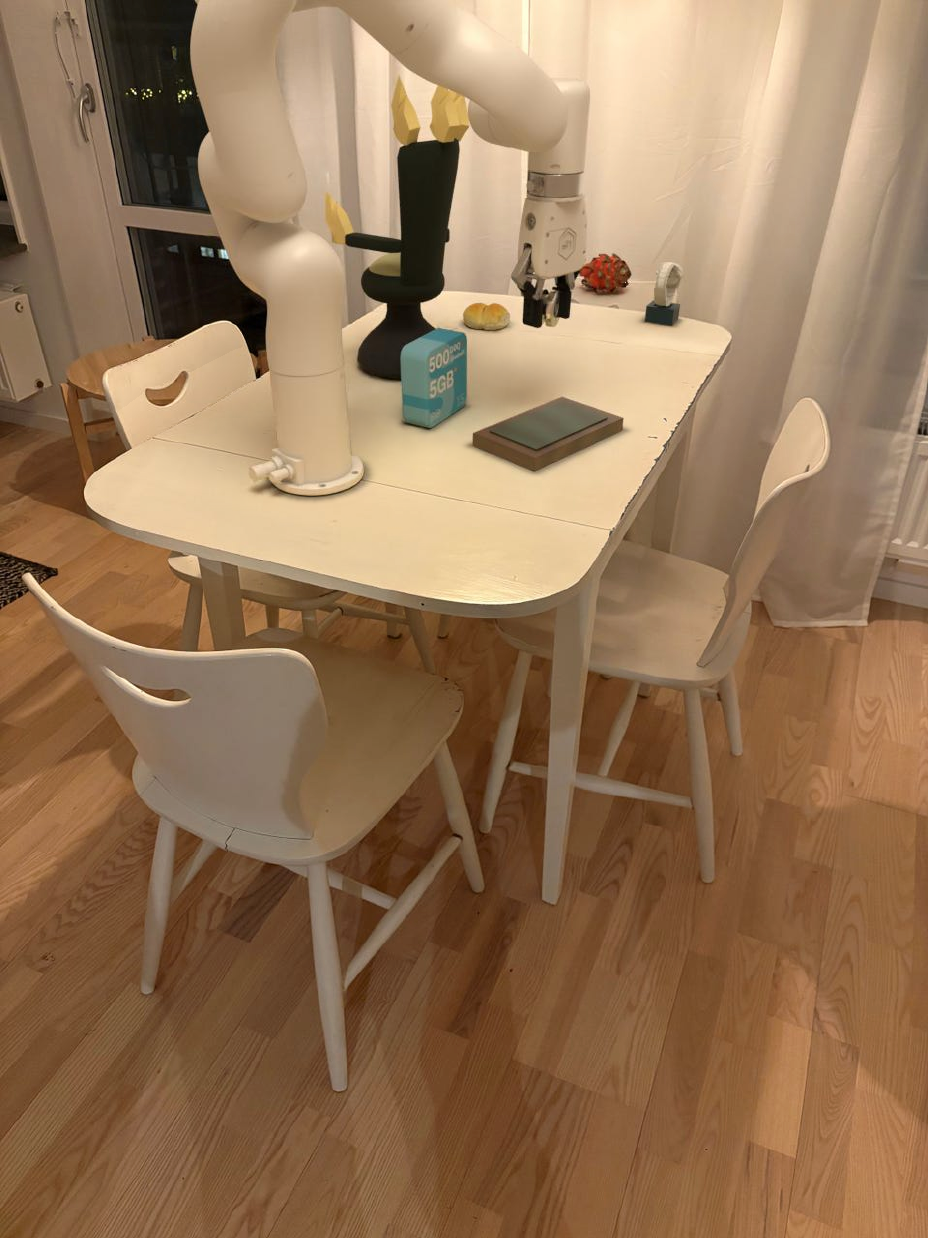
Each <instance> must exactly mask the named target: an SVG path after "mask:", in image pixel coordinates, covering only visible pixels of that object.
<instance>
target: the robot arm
mask: <svg viewBox="0 0 928 1238" xmlns="http://www.w3.org/2000/svg"><path fill="white" fill-rule="evenodd" d="M194 1H195V3H196V4H197V6H196V9H195V14H194V18H193V22H192V27H191V35H190V45H189V46H190V48H189V50H190V51H189V55H190V66H191V72H192V77H193V81H194V85H195V88H196V89H195V90H196V92H197V96H198V99H199V102H200V105H201V108H202V112H203V115H204V118H205V122H206V125H207V129H208V133H206V135H205V136H204V138H203V140H202V142H201V144H200V146H199V149H198V150H199V151H198V158H197V169H198V171H197V172H198V176H199V177H198V178H199V181H200V186H201V189H202V192H203V195H204V197H205V201H206V203H207V205H208V208H209V211H210V213H211V216H212V219H213V221H214V224H215V227H216V229H217V233H218V234H219V237H220V240H221V242H222V245H223V248H224V250H225V253H226V255H227V257H228V260H229V262H230V264H231V267H232V269H233V271H234V272H235V274H236V276H237V277H238V279H239V281H241V282H242V283H243V285H245V286H246V288H248V289H250V290H251V291H252V292H253V293H255V294H257V295H259V296H260V297H262V299H264V300H265V302H266V310H267V312H266V313H267V314H266V324H265V325H266V326H265V351H266V359H267V366H268V372H269V380H270V387H271V396H272V405H273V413H274V421H275V430H276V438H277V445H278V446H277V447H275V448H272V449H271V457H270V458H267V461H266V462H263V463H259V464H256V465H253V466H250V467H249V468H248V469H247V470H248V476H249V478H250V479H251V481H252V482H255V483H256V482H259V481H261V480H264V479H267V478H268V480H269V481H270V483H272V484H273V486H275V487H276V488H277V489H279V490H281V491H283V492H286V493H289V494H293V495H299V496H325V495H331V494H336V493H340V492H342V491H346V490H348V489H350V488H351V487H353V486H355V485H357V484H358V483H359V482H360V481H361V480H362V479H363V476H364V474H365V471H364V470H365V469H364V464H363V461H362V460H361V459H360V457H358V456H356V455H355V454H353V453H352V448H351V434H350V420H349V408H348V395H347V394H348V393H347V381H346V379H347V378H346V367H345V359H344V356H345V355H344V343H343V342H344V341H343V313H344V312H343V310H344V302H345V289H346V281H345V280H346V279H345V270H344V268H343V264H342V261H341V259H340V257H339V256H338V254H337V252H336V250H335V248H333V246H331V244H330V243H329V242H327V241H326V240H325V239H324V238H323V237H322V236H320V235H318V234H317V233H315V232H313V231H311V230H309V229H306V228H304V227H303V226H300V225H298V224H294V221H293V218H295V217H296V215H298V213H300V212H301V210H302V208H303V207H304V204H305V203H306V202H305V201H306V200H307V199H306V198H307V191H308V184H307V183H308V182H307V176H306V171H305V167H304V164H303V161H302V158H301V155H300V152H299V151H300V150H299V148H298V145H297V142H296V139H295V136H294V132H293V129H292V126H291V123H290V120H289V117H288V113H287V110H286V107H285V104H284V101H283V96H282V92H281V88H280V83H279V79H278V74H277V68H276V53H277V47H278V43H279V40H280V39H279V38H280V35H281V33H282V30H283V27H284V26H285V23H286V21H287V20H288V18H289V17H290V15H291V14H294V13H299V12H303V11H308V10H313V9H317V8H338V9H340V10H341V11H342V12H344V13H345V14H346V15H347V16H348V17H349V18H350V19H351V20H353V22H355V23H356V24H357V25H358V26H359V27H360V28H362V30H364V31H365V32H366V33H367V34H368V35H370V36H371V37H372V38H373V39H374V40H375V41H376V42H378V44H380V46H382V47H383V48H384V49H385V50H386V51H387V52H388V53H390V54H391V56H392V57H393V58H394V59H396V60H397V61H398V62H399V64H401V65H402V66H403V67H405V68H406V69H407V70H408V71H410V72H411V73H413V74H414V75H416V76H418V77H420V78H422V79H424V80H425V81H427V82H429V83H431V84H434V85H436V86H441V87H444V88H446V89H448V90H451V91H454V92H456V93H458V94H460V95H462V96H464V97H465V99H468V105H467V113H468V119H469V126H470V127H471V129H472V130H473V132H474V133H475V134H476V135H477V136H478V137H479V138H480V139H481V140H483V141H484V142H487V143H489V144H492V145H495V146H499V147H504V148H509V149H510V148H511V149H515V150H520V151H524V152H527V156H528V157H527V175H526V176H527V178H526V184H525V187H526V197H525V199H524V202H523V207H522V214H521V218H520V219H521V220H520V227H519V235H518V247H517V263H516V265H515V267H514V269H513V270H512V272H511V275H510V278H511V280H512V281H513V283H514V284H515V285H516V286H517V289H518V290H519V291H520V295H521V297H523V301H522V302H523V303H522V304H523V305H522V324H523V325H525V326H527V327H532V328H536V329H540V328H542V326H543V325H542V318H543V299H540V297H541V294H542V290H543V289H544V285H545V282H546V281H547V280H551V279H553V280H554V284H555V286H552V288H551V290H557V291H560V292H561V294H562V309H561V315H560V318H559V319H564V320H568V319H570V317H571V306H572V292H573V290H574V289H575V287H576V280H577V278H578V276H580V274H579V271H580V269H581V268H582V267H583V266H584V265H585V264H586V260H587V258H586V256H587V255H586V253H587V234H588V233H587V229H588V227H587V226H588V225H587V222H588V221H587V219H588V218H587V204H586V203H587V202H586V197H585V194H583V192H584V180H585V179H584V178H585V165H586V155H587V154H586V153H587V140H588V128H589V114H590V105H591V104H590V102H591V90H590V89H591V88H590V87H589V85H588V84H587V82H585V81H584V80H581V79H577V78H567V77H550V75H548V74H547V73H546V72H545V71H544V69H542V68H541V66H539V64H538V63H536V62H535V60H534V59H532V57H531V56H529V55H528V54H527V52H525V51H524V50H523V49H522V48H520V47H519V46H518V45H516V44H515V43H514V42H512V40H510V39H508V38H507V37H505V35H503V34H501V33H500V32H498V31H497V30H496V29H494V28H492V27H491V26H490V25H488V24H487V23H485V22H484V21H483V20H482V19H481V18H479V17H477V16H476V15H475V14H473V13H472V12H470V11H468V10H467V9H466V8H464V7H463V6H461V5H460V4H458V3H457V2H456V1H455V0H194ZM533 280H536V281H535V284H533Z"/></svg>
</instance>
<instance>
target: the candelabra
mask: <svg viewBox="0 0 928 1238" xmlns="http://www.w3.org/2000/svg"><path fill="white" fill-rule="evenodd" d="M430 107H431V122H430V125H429V129H430V131H431V133H432V135H433V137H434V138H435V139H432V140H431V139H430V140H423V141H418V139H419V134H420V130H421V124H420V121H419V118H418V115H417V112H416V109H415V107H414V106H413V104H412V102H411V100H410V98H409V97H408V94H407V92H406V89H405V85H404V83H403V80H402V78H401V76H400V74H398V77H397V81H396V84H395V88H394V91H393V97H392V101H391V107H390V108H391V112H392V118H393V133H394V135H395V138H396V140H397V141H398V142H399V143H400V144H401V146H400V147H399V149H398V152H397V157H396V161H397V182H398V183H397V184H398V200H399V201H398V203H399V221H400V239H399V238H395V237H388V236H383V235H376V234H369V233H363V232H355V231H354V229H353V226H352V223H351V220H350V218H349V216H348V213H347V212H346V211H345V210H344V208H343V207H342V206H341V205H340V204H339V203H338V201H335V200H334V199H333V197H332V195H331V194H330V193H329V192H328V190H325V195H324V196H325V197H324V198H325V200H324V203H325V204H324V205H325V208H324V211H325V212H324V216H325V217H324V218H325V219H324V222H325V223H326V225H327V227H328V229H329V231H330V235H331V243H332V244H335V245H340V246H341V245H346V246H347V247H348V248H349V247H350V248H355V249H361V250H366V251H374V252H380V253H386V254H384V255H381V256H379V257H378V258H376V259H375V260H374V261H373V262H372V263H371V264H370V265H369V266H367V267H366V269H365V270H364V271H363V272H362V275H361V277H360V286H361V289H362V292H363V293H365V295H366V296H367V297H368V298H370V299H371V300H374V301H376V302H378V303H382V304H386V312H385V316H384V318H383V319H382V320H381V321H380V323H378V324H377V326H375V327H374V328H373V329H372V330H371V331H370V332H369V333H368V335H366V336H365V337H364V339H363V341H362V342H361V343H360V346H359V348H358V349H357V357H356V362H357V363H358V364H359V366H361V367H362V369H364V371H365V372H367V373H369V374H372V375H374V376H376V377H377V376H378V377H382V378H386V379H397V380H401V352H402V349H403V348H404V346H405V345H407V344H409V343H411V342H412V341H414V340H416V339H418V338H420V337H422V336H424V335H426V334H428V333H430V332H432V331H434V330H435V329H437V328H436V327H434V326H433V325H432V324H431V323H430V322H429V321H428V320H427V319H426V318H425V317H424V315H423V312H422V308H421V307H422V304H424V303H427V302H430V301H432V300H434V299H436V298H437V297H438V296H440V295H441V293H442V292H443V291H444V288H445V285H446V283H445V281H446V279H445V276H444V273H443V271H444V260H445V250H446V244H447V243H449V242H450V237H451V235H450V233H451V232H450V229H449V223H450V216H451V212H452V211H451V210H452V205H453V198H454V193H455V188H456V181H457V176H458V171H459V170H458V169H459V160H460V153H461V152H460V151H461V149H460V148H461V146H460V142H461V141H462V139H463V137H464V135H465V133H466V132H467V131H468V129H469V128H470V122H469V118H468V106H467V101H466V97H464V96H462V95H460V94H458V93H456V92H454V91H451V90H449V89H446V88H444V87H441V86H438V85H436V88H435V90H434V93H433V96H432V98H431V101H430Z"/></svg>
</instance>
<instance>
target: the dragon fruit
mask: <svg viewBox="0 0 928 1238" xmlns="http://www.w3.org/2000/svg"><path fill="white" fill-rule="evenodd" d="M631 271H632V270H630V266H629V265H628V264H627V262H626V261H625V260H623V259H622V258H621V257H620V256H619V255H617V253H613V252H612V253H611V256H610V255H609V254H607V253H598V256H597V257H592V259H591V261H590V262H587V263H584V266H583V267H582V268H581V269H580V271H579V276H580V277H583V278H582V279H581V280H580V282H581V285H583V286H584V287H585V288H587V289H592V290H594V291H596V292H597V294H598V295H600V294H602V293H605V291H607V292H608V294H615V293H617V288H618V289H624V288H627V287H628V286H629V285H630V283H629V280H630V279H631V277H632V275H633V274H632V272H631ZM625 282H626V283H625Z"/></svg>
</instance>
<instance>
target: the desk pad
mask: <svg viewBox="0 0 928 1238" xmlns="http://www.w3.org/2000/svg"><path fill="white" fill-rule="evenodd" d="M623 427H624V417H622V416H620V415H616V414H614V413H610V412H608V411H606V410H602V409H599V408H596V407H593V406H590V405H587V404H584V403H582V402H579V401H576V400H574V399H570V398H567V397H565V396H560V397H558V398H554V399H552V400H550V401H547V402H545V403H543V404H540V405H538V406H535V407H533V408H531V409H529V410H526V411H523V412H520V413H518V414H516V415H513V416H511V417H508V418H507V419H503V420H501V421H499V422H496V423H494V424H491V425H488V426H486V427H484V428H482V429H479V430H477V431H474V432H472V446H473V447H475V448H477V449H479V450H482V451H485V452H487V453H489V454H492V455H494V456H497V457H499V458H501V459H504V460H506V461H509V462H511V463H513V464H515V465H518V466H521V467H522V468H525V469H528V470H530V471H532V472H536V471H539V470H541V469H542V468H545V467H547V466H549V465H552V464H553V463H556V462H558V461H560V460H562V459H564V458H566V457H568V456H570V455H573V454H575V453H577V452H580V451H581V450H583V449H586V448H587V447H590V446H593V445H595V444H596V443H598V442H600V441H603V440H604V439H607V438H609V437H611V436H613V435H615V434H618V433H619V432H622V431H623Z"/></svg>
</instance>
